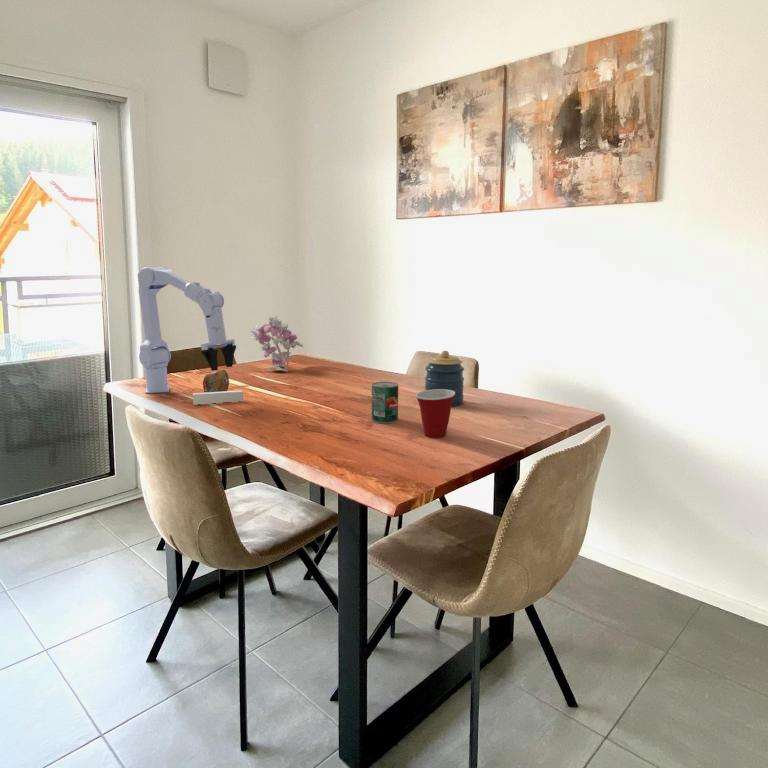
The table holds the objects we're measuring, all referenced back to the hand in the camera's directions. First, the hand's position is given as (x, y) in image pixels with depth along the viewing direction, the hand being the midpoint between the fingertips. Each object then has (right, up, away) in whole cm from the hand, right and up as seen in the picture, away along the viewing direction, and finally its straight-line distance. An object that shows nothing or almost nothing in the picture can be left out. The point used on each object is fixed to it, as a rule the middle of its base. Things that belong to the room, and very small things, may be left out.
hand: (222, 368), depth 206 cm
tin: (-4, -9, +8) cm, 13 cm away
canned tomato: (+55, -16, -24) cm, 62 cm away
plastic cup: (+68, -19, -40) cm, 81 cm away
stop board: (0, -11, -3) cm, 12 cm away
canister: (+75, -12, -1) cm, 76 cm away
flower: (+8, +1, +60) cm, 60 cm away
